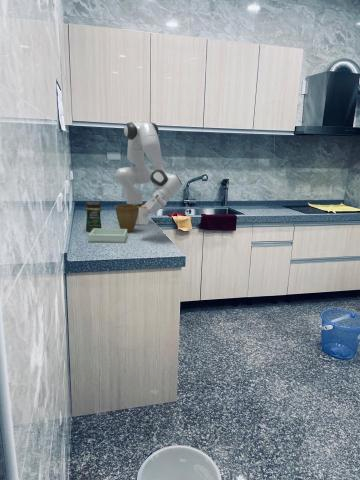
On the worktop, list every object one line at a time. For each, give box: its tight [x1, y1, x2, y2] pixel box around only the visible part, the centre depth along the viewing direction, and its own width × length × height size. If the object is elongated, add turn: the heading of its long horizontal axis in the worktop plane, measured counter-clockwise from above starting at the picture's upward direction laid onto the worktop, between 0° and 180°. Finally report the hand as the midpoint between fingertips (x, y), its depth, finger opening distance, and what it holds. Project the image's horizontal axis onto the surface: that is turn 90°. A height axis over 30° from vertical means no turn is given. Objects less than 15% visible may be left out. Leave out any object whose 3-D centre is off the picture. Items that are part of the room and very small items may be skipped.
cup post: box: [139, 207, 150, 225], centre depth 206 cm, size 5×5×9 cm
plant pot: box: [114, 204, 139, 233], centre depth 226 cm, size 15×15×16 cm
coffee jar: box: [85, 201, 102, 232], centre depth 224 cm, size 10×8×19 cm
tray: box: [87, 228, 128, 244], centre depth 206 cm, size 18×20×4 cm
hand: (142, 215), depth 206 cm, fingers closed on cup post, 5 cm apart
